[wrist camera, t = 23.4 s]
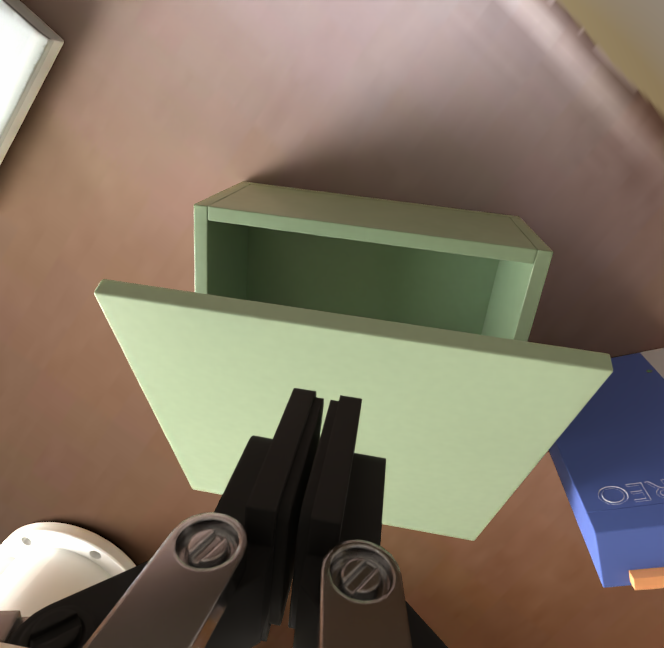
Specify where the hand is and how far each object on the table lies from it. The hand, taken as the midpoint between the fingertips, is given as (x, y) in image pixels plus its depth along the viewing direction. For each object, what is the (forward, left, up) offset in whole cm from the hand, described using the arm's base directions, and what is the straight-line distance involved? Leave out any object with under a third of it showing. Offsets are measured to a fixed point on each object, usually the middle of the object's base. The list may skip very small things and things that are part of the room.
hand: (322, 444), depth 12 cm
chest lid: (0, -4, -6) cm, 8 cm away
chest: (0, -4, -16) cm, 17 cm away
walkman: (+14, -5, -16) cm, 22 cm away
